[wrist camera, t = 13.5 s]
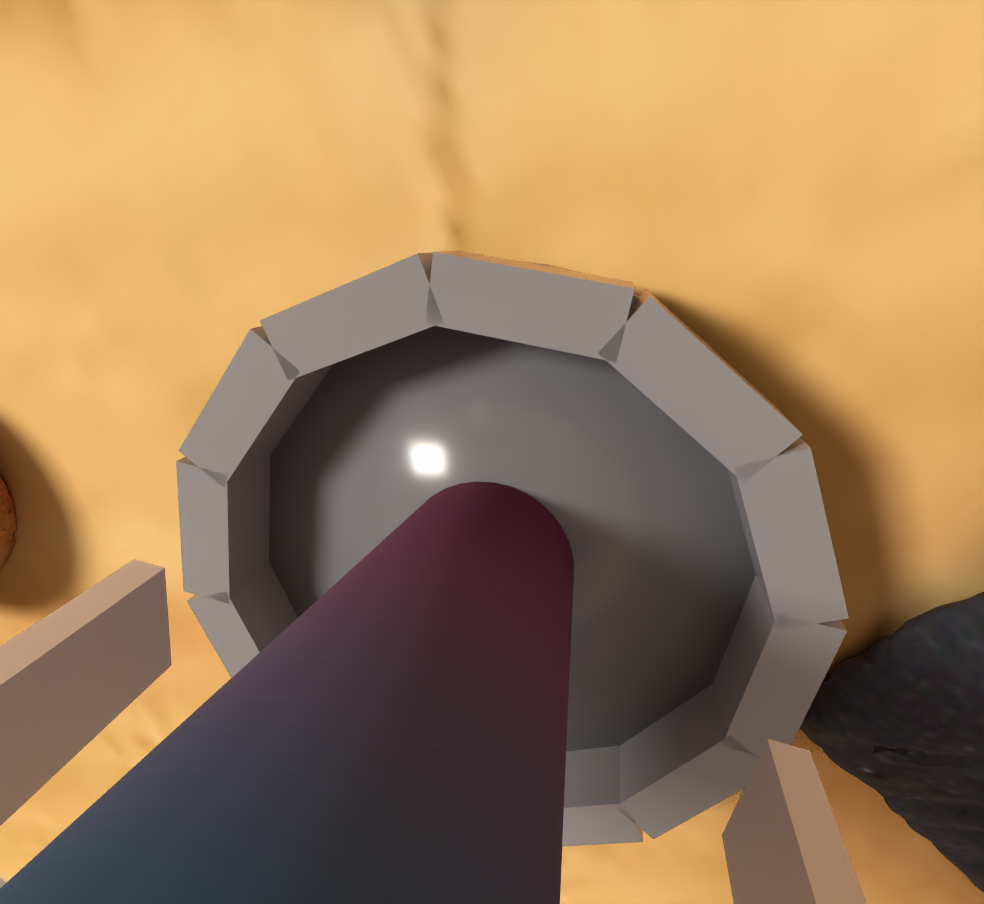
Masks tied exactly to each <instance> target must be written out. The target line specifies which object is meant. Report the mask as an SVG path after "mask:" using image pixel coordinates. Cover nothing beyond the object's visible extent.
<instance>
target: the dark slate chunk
mask: <svg viewBox="0 0 984 904" xmlns="http://www.w3.org/2000/svg"><path fill="white" fill-rule="evenodd" d="M800 729H801V730H803V731H804V732H805V734H806V735H807V736H808V737H809V738H810V740H811V741H812V742H813V743H815V744H817V745H819V746H820V747H821V748H822V749H823V750H824V752H825V753H826V755H827V756H828V757H829V758H830V759H831V760H832V761H833V762H834V763H836V764H837V765H838V766H840V767H841V768H842V769H844V770H845V771H847V772H848V773H850V774H852V775H854V776H855V777H857V778H859V779H860V780H861V781H862V782H864V783H865V784H867V785H869V786H871V787H872V788H874V789H875V790H876V791H878V792H879V793H880V794H881V795H882V796H883V797H884V799H885V802H886V803H887V805H888V807H889V808H890V809H891V810H892V811H893V812H895V813H897V814H899V815H901V816H902V817H903V818H904V819H905V821H906V822H907V824H908V825H909V826H910V827H911V828H912V829H913V830H914V831H916V832H917V833H918V834H920V835H922V836H923V837H925V838H927V839H929V840H930V841H931V842H932V843H933V844H934V846H935V847H936V848H937V849H938V850H939V851H940V852H941V853H942V854H943V855H944V856H945V857H946V858H947V859H948V860H949V861H950V862H952V863H953V864H954V865H955V866H956V867H958V868H959V869H960V870H961V871H962V872H963V873H964V874H965V875H966V876H967V877H968V878H969V879H970V880H971V881H972V883H973V884H974V885H975V886H977V887H978V888H979V889H980V890H981V891H983V892H984V592H982V593H979V594H977V595H975V596H973V597H971V598H969V599H966V600H963V601H960V602H955V603H950V604H945V605H942V606H939V607H936V608H934V609H932V610H930V611H927V612H925V613H923V614H921V615H919V616H917V617H915V618H913V619H911V620H909V621H907V622H906V623H905V624H904V625H903V626H902V627H901V628H899V629H898V630H897V631H896V632H895V634H893V635H889V636H886V637H885V638H884V639H882V640H881V641H879V642H878V643H876V644H875V645H873V646H872V647H870V648H869V649H868V650H867V651H865V652H864V653H862V654H861V655H858V656H854V657H852V658H849V659H848V660H846V661H844V662H842V663H841V664H839V665H837V666H836V667H834V668H833V670H832V673H831V675H830V677H829V679H828V680H826V681H825V682H823V683H822V684H821V685H820V688H819V690H818V692H817V694H816V696H815V698H814V700H813V702H812V704H811V707H810V709H809V710H808V712H807V714H806V716H805V718H804V720H803V722H802V724H801V726H800Z"/></svg>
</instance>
